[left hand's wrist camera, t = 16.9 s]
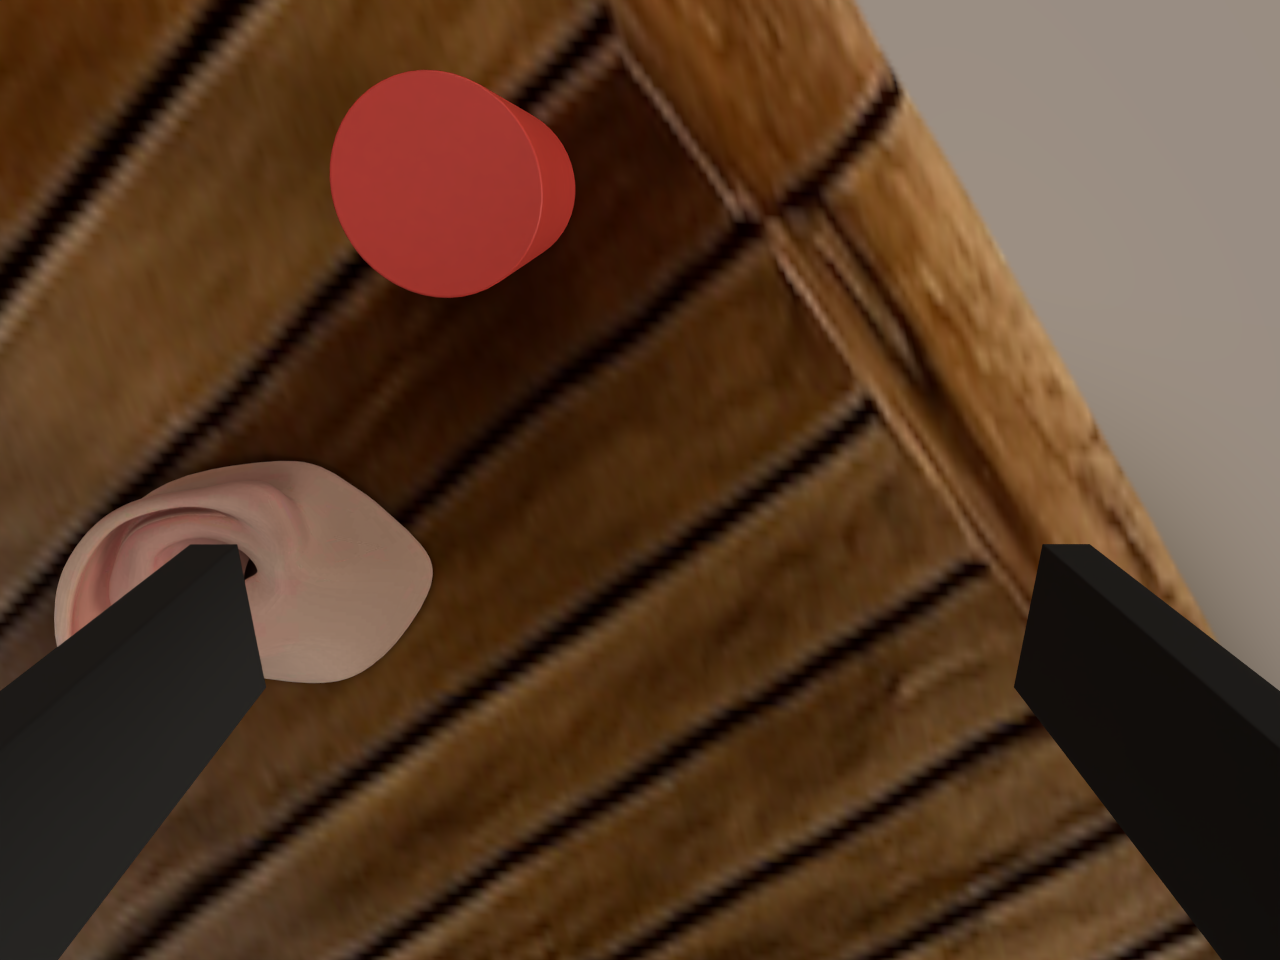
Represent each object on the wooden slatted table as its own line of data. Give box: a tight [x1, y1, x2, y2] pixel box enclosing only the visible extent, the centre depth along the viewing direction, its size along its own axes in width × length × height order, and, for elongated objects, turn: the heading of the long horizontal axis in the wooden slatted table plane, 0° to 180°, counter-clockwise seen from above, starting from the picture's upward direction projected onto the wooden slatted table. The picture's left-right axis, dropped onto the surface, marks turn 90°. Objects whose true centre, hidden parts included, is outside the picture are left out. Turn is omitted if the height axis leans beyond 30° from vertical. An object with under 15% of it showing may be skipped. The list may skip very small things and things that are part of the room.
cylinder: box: [330, 70, 575, 298], centre depth 23 cm, size 5×5×9 cm
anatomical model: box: [54, 461, 433, 683], centre depth 31 cm, size 13×4×12 cm
